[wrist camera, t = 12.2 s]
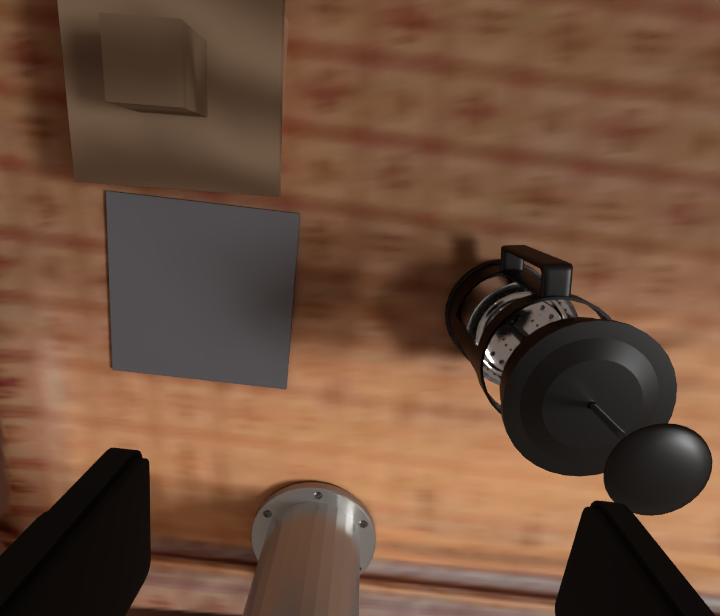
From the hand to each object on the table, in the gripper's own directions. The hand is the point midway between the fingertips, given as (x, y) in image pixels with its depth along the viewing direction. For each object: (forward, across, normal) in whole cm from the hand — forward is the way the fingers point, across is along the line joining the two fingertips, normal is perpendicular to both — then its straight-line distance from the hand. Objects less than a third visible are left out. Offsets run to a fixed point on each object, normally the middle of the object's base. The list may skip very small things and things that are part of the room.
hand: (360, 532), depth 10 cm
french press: (+31, -12, +2) cm, 33 cm away
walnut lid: (+25, +14, -12) cm, 31 cm away
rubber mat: (+30, +14, +4) cm, 34 cm away
